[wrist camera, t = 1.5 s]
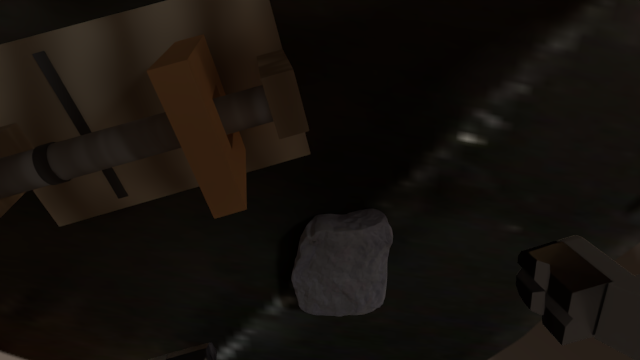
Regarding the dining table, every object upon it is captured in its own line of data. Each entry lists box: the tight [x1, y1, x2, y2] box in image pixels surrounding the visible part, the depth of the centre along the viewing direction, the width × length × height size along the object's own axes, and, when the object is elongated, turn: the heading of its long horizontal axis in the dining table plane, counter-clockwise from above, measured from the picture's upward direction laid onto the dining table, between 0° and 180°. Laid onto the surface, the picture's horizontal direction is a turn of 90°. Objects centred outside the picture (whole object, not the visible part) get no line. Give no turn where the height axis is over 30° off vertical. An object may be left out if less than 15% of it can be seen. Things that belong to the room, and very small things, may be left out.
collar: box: [147, 34, 247, 219], centre depth 24 cm, size 2×9×9 cm, turn 13°
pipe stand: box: [0, 0, 311, 227], centre depth 26 cm, size 22×14×8 cm, turn 103°
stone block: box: [291, 208, 393, 317], centre depth 40 cm, size 12×5×10 cm
